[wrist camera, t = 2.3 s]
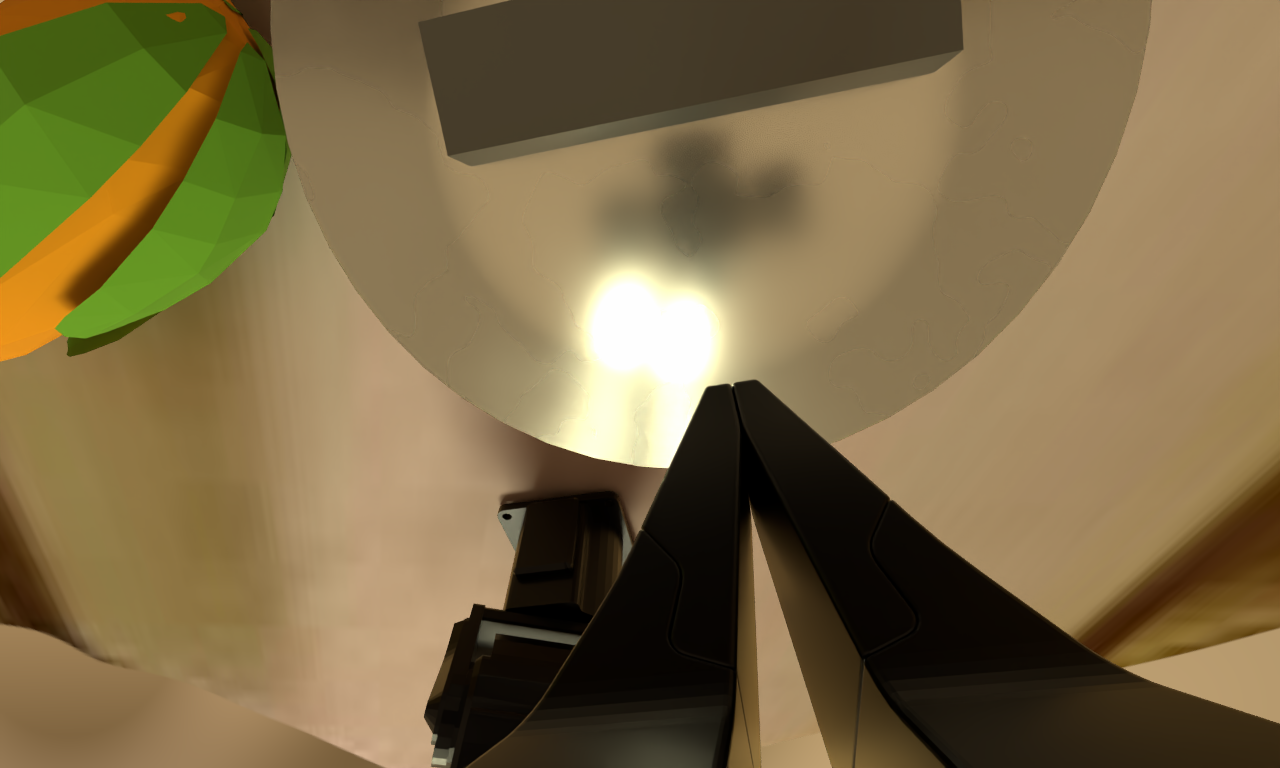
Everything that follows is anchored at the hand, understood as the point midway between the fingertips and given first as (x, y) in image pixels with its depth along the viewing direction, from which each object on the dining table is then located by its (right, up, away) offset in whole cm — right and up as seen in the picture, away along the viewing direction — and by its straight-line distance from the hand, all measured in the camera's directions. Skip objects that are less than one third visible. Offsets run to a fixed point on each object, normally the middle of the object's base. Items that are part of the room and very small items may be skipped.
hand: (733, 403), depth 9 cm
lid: (-1, +6, +1) cm, 6 cm away
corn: (-20, +7, +11) cm, 24 cm away
